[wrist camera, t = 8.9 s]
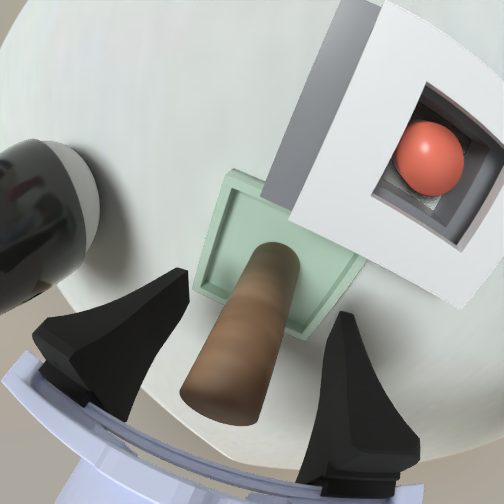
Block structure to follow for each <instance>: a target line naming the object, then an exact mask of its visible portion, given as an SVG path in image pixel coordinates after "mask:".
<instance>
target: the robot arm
mask: <svg viewBox="0 0 504 504" xmlns="http://www.w3.org/2000/svg"><path fill="white" fill-rule="evenodd" d="M189 302H190V300H189V282H188V270H184V269H181V268H175V269H173V270H171V271H169V272H168V273H166V274H164V275H162V276H161V277H159V278H157V279H156V280H154V281H152V282H150V283H148V284H147V285H145V286H143V287H141V288H139V289H137V290H136V291H134V292H132V293H130V294H128V295H126V296H124V297H122V298H119V299H117V300H115V301H112V302H110V303H107V304H105V305H102V306H99V307H96V308H93V309H90V310H86V311H82V312H79V313H74V314H69V315H64V316H57V317H49V318H47V319H46V320H45V321H44V322H43V323H42V324H41V325H40V326H39V327H38V328H37V329H36V330H35V331H34V332H33V333H32V338H33V340H34V342H35V344H36V346H37V347H38V349H39V350H40V352H41V353H42V355H43V356H44V358H45V359H46V361H45V363H44V364H43V363H42V362H41V361H40V360H39V359H38V358H37V357H36V356H35V355H33V354H32V353H31V352H30V351H29V350H26V351H25V352H24V353H23V354H22V355H21V357H20V358H19V359H18V360H17V361H16V362H15V364H14V365H13V366H12V367H11V369H10V370H9V371H8V372H7V373H6V375H5V376H4V377H3V379H2V383H3V384H4V385H5V386H6V387H7V388H8V389H9V391H10V392H11V393H12V394H13V395H14V396H15V397H16V398H17V399H18V400H19V402H20V403H21V404H22V405H23V406H24V407H25V408H26V409H27V410H28V411H29V412H30V413H31V414H32V415H33V416H34V417H35V418H36V419H37V420H38V421H39V422H40V423H41V424H42V425H44V426H45V427H46V428H47V429H48V430H49V431H50V432H51V433H52V434H53V435H55V436H56V437H57V438H58V439H60V441H62V442H63V443H64V444H65V445H67V446H68V447H69V448H71V449H72V450H73V451H74V452H75V453H77V454H78V455H79V456H81V457H82V458H81V459H80V461H79V463H78V465H77V466H76V468H75V469H74V471H73V473H72V474H71V476H70V478H69V479H68V481H67V483H66V484H65V486H64V488H63V489H62V491H61V493H60V495H59V496H58V498H57V500H56V501H55V503H54V504H423V495H424V484H412V485H400V486H396V481H397V480H399V479H400V472H401V471H404V470H406V469H407V468H410V467H412V466H414V465H415V464H417V463H418V462H419V460H420V438H419V437H418V436H417V435H416V434H415V433H414V432H413V430H412V429H411V428H410V427H409V426H408V425H407V423H406V422H405V421H404V420H403V418H402V417H401V416H400V414H399V413H398V412H397V410H396V409H395V407H394V405H393V404H392V402H391V401H390V399H389V398H388V396H387V395H386V393H385V391H384V389H383V387H382V386H381V384H380V382H379V380H378V378H377V376H376V374H375V371H374V369H373V367H372V365H371V362H370V360H369V358H368V355H367V352H366V350H365V347H364V345H363V342H362V339H361V336H360V333H359V330H358V327H357V324H356V321H355V317H354V315H353V314H352V313H347V312H343V311H340V312H339V314H338V317H337V319H336V321H335V324H334V326H333V328H332V330H331V332H330V335H329V337H328V339H327V342H326V347H325V353H324V358H323V367H322V378H321V388H320V398H319V405H318V410H317V415H316V419H315V423H314V427H313V431H312V434H311V438H310V441H309V445H308V448H307V451H306V454H305V457H304V460H303V463H302V466H301V469H300V471H299V474H298V477H297V479H296V482H295V483H292V482H287V481H282V480H276V479H272V478H267V477H263V476H259V475H255V474H251V473H247V472H243V471H240V470H236V469H233V468H229V467H226V466H223V465H220V464H217V463H214V462H211V461H208V460H205V459H203V458H200V457H197V456H194V455H192V454H189V453H187V452H184V451H182V450H180V449H177V448H175V447H173V446H170V445H168V444H166V443H163V442H161V441H159V440H157V439H155V438H153V437H151V436H149V435H147V434H145V433H143V432H141V431H139V430H137V429H135V428H133V427H131V426H129V425H127V424H126V423H125V422H127V420H128V416H129V414H130V411H131V408H132V406H133V403H134V401H135V398H136V396H137V393H138V391H139V389H140V386H141V384H142V382H143V380H144V378H145V376H146V374H147V372H148V370H149V368H150V366H151V364H152V362H153V360H154V358H155V357H156V355H157V353H158V352H159V350H160V349H161V347H162V346H163V344H164V343H165V342H166V340H167V339H168V337H169V336H170V334H171V333H172V331H173V330H174V329H175V327H176V326H177V324H178V323H179V321H180V320H181V318H182V316H183V314H184V312H185V310H186V308H187V306H188V304H189ZM107 430H108V431H110V432H111V433H113V434H115V435H116V436H118V437H120V438H121V439H123V440H125V441H127V442H128V443H130V444H132V445H134V446H136V447H138V448H140V449H142V450H144V451H146V452H148V453H150V454H152V455H154V456H156V457H158V458H160V459H162V460H164V461H167V462H169V463H172V464H173V465H176V466H178V467H181V468H183V469H186V470H188V471H191V472H193V473H196V474H199V475H202V476H204V477H207V478H210V479H213V480H216V481H219V482H223V483H226V484H229V485H232V486H236V487H239V488H243V489H247V490H251V491H255V492H259V493H263V494H257V493H250V494H249V496H248V497H246V499H242V498H239V497H236V496H232V495H230V494H226V493H223V492H220V491H218V490H215V489H212V488H209V487H206V486H204V485H201V484H198V483H196V482H193V481H191V480H188V479H186V478H183V477H181V476H178V475H176V474H174V473H171V472H169V471H167V470H165V469H163V468H160V467H158V466H156V465H154V464H152V463H150V462H148V461H146V460H144V459H142V458H140V457H138V455H137V454H136V453H135V452H133V451H132V450H131V449H130V448H128V447H127V446H126V444H125V443H124V442H122V441H121V440H120V439H118V438H117V437H115V436H114V435H112V434H111V433H109V432H108V431H107ZM395 486H396V487H395ZM264 494H268V495H264ZM272 495H273V496H272Z"/></svg>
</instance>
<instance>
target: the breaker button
mask: <svg viewBox="0 0 504 504" xmlns="http://www.w3.org/2000/svg"><path fill="white" fill-rule="evenodd" d="M392 161H393V163H394V166H395V168H396V170H397V171H398V173H399V174H400V175H401V176H402V177H403V179H404V180H405V181H406V182H407V183H408V185H409V186H410V187H411V188H412V189H414V190H415V191H417V192H418V193H420V194H423V195H427V196H438V195H442V194H445V193H447V192H448V191H450V190H451V189H452V188H453V187H454V186H455V185H456V184H457V182H458V181H459V179H460V177H461V175H462V171H463V166H464V156H463V151H462V147H461V145H460V143H459V141H458V139H457V138H456V136H455V135H454V134H453V133H452V132H451V131H450V130H449V129H448V128H446V127H445V126H442V125H440V124H437V123H433V122H429V121H425V120H412V121H409V122H408V124H407V126H406V128H405V130H404V132H403V134H402V136H401V138H400V141H399V143H398V145H397V147H396V149H395V151H394V153H393V154H392Z"/></svg>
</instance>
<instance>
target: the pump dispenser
mask: <svg viewBox="0 0 504 504" xmlns="http://www.w3.org/2000/svg"><path fill="white" fill-rule="evenodd" d="M99 217H100V202H99V194H98V190H97V186H96V183H95V180H94V177H93V175H92V173H91V171H90V169H89V167H88V166H87V164H86V163H85V161H84V160H83V159H82V158H81V157H80V155H79V154H77V153H76V152H75V151H74V150H73V149H71V148H70V147H68V146H66V145H64V144H61V143H58V142H53V141H40V140H37V139H28V140H24V141H22V142H19V143H17V144H15V145H13V146H11V147H9V148H7V149H6V150H4V151H3V152H1V153H0V315H1V314H3V313H6V312H7V311H9V310H12V309H14V308H16V307H18V306H20V305H22V304H23V303H26V302H27V301H29V300H31V299H33V298H35V297H36V296H38V295H40V294H41V293H43V292H45V291H46V290H48V289H50V288H51V287H53V286H54V285H56V284H57V283H59V282H61V281H62V280H64V279H65V278H66V277H68V276H69V275H70V274H72V273H73V272H74V271H75V270H76V269H77V268H78V267H79V266H80V265H81V263H82V262H83V259H84V257H85V254H86V252H87V251H88V249H89V247H90V246H91V244H92V242H93V240H94V237H95V235H96V232H97V228H98V224H99Z"/></svg>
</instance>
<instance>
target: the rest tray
mask: <svg viewBox="0 0 504 504" xmlns="http://www.w3.org/2000/svg"><path fill="white" fill-rule="evenodd" d="M264 184H265V181H262V180H260V179H258V178H255V177H253V176H251V175H248V174H246V173H244V172H241V171H239V170H236V169H232V170H231V171H229V172H228V173H227V174H225V177H224V180H223V183H222V186H221V189H220V193H219V196H218V199H217V202H216V206H215V209H214V212H213V215H212V219H211V222H210V226H209V229H208V232H207V236H206V239H205V243H204V246H203V250H202V253H201V257H200V261H199V264H198V268H197V272H196V275H195V279H194V283H193V286H192V290H194V291H196V292H198V293H200V294H202V295H204V296H206V297H208V298H210V299H212V300H214V301H216V302H219V303H221V304H223V305H225V304H226V302H227V300H228V299H229V297H230V295H231V293H232V291H233V289H234V287H235V285H236V283H237V282H238V280H239V278H240V276H241V274H242V272H243V270H244V268H245V267H246V265H247V263H248V261H249V259H250V257H251V255H252V253H253V251H254V250H255V249H256V248H257V247H258V246H259V245H261V244H263V243H267V242H279V243H282V244H285V245H287V246H288V247H290V248H291V249H292V250H293V251H294V252H295V253H296V254H297V256H298V258H299V261H300V270H299V274H298V278H297V283H296V287H295V291H294V295H293V299H292V303H291V307H290V311H289V315H288V318H287V322H286V326H285V330H284V333H286V334H289V335H291V336H293V337H296V338H298V339H301V340H303V341H306V340H307V338H308V337H309V336H310V335H311V334H312V332H313V331H314V330H315V329H316V328H317V326H318V325H319V324H320V323H321V321H322V320H323V319H324V318H325V316H326V315H327V314H328V312H329V311H330V310H331V309H332V307H333V306H334V305H335V303H336V302H337V301H338V299H339V298H340V297H341V295H342V294H343V293H344V291H345V290H346V289H347V287H348V286H349V285H350V283H351V282H352V281H353V279H354V278H355V276H356V275H357V274H358V272H359V271H360V269H361V268H362V266H363V265H364V264H365V262H366V261H367V258H365V257H363V256H361V255H359V254H357V253H355V252H353V251H351V250H349V249H347V248H345V247H343V246H341V245H339V244H337V243H335V242H333V241H331V240H329V239H327V238H325V237H323V236H320V235H318V234H316V233H314V232H312V231H310V230H308V229H306V228H304V227H302V226H300V225H297V224H295V223H293V222H291V221H289V220H288V218H289V216H290V213H291V211H290V210H288V209H286V208H284V207H282V206H279V205H277V204H275V203H273V202H271V201H268V200H266V199H264V198H262V197H260V194H261V192H262V189H263V187H264Z"/></svg>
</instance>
